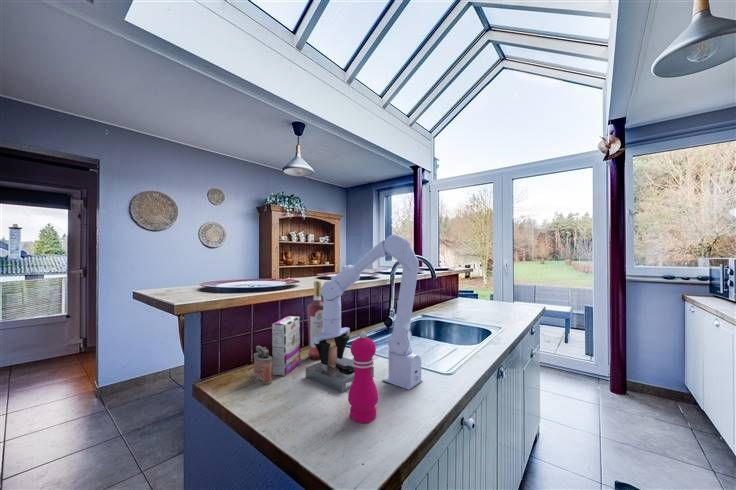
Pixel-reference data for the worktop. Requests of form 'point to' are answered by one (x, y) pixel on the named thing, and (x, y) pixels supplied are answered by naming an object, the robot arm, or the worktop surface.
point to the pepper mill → (363, 381)
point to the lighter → (262, 366)
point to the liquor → (315, 319)
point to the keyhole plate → (332, 374)
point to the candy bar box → (285, 345)
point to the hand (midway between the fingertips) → (332, 360)
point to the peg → (332, 356)
